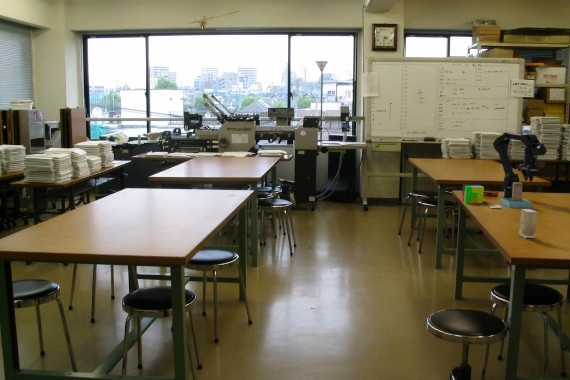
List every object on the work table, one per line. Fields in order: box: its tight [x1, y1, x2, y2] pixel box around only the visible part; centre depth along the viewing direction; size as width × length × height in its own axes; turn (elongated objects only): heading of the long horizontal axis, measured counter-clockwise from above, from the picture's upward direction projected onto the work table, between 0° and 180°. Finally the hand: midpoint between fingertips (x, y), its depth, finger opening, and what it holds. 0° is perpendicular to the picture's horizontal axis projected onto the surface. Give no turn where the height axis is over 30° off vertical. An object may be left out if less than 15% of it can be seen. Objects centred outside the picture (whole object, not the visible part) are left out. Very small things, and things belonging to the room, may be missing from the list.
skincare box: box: [518, 209, 538, 239], centre depth 245 cm, size 6×4×12 cm
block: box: [512, 182, 524, 202], centre depth 323 cm, size 4×4×12 cm
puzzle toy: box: [461, 183, 485, 205], centre depth 336 cm, size 10×10×10 cm
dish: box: [500, 197, 533, 208], centre depth 324 cm, size 13×13×3 cm
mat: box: [496, 202, 537, 210], centre depth 324 cm, size 18×16×1 cm
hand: (528, 181), depth 336 cm, fingers open, 9 cm apart
